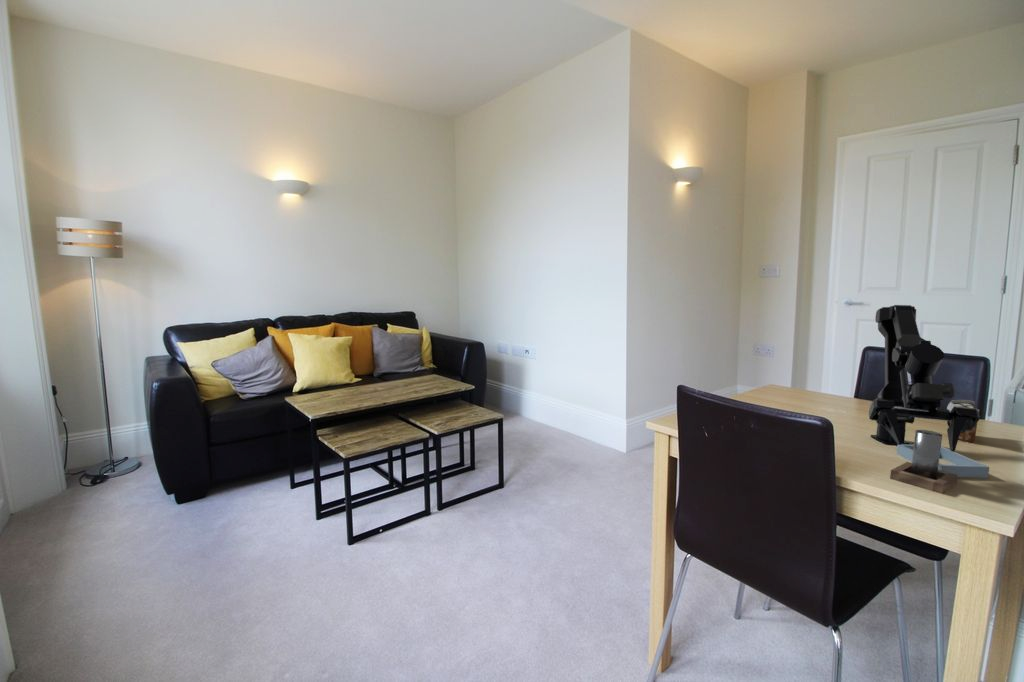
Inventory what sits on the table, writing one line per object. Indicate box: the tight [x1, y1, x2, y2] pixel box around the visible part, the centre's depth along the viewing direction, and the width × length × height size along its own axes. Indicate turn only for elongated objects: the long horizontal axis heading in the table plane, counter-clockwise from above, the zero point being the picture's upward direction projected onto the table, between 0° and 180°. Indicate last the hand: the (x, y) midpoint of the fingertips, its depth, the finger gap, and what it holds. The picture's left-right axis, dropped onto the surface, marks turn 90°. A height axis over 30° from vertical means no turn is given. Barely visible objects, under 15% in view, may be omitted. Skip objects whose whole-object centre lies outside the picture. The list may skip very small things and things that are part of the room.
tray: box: [896, 444, 990, 479], centre depth 116 cm, size 14×10×4 cm
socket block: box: [889, 461, 959, 495], centre depth 107 cm, size 9×9×3 cm
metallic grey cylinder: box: [911, 429, 943, 480], centre depth 106 cm, size 4×4×11 cm
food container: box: [946, 399, 980, 444], centre depth 138 cm, size 12×6×10 cm, turn 141°
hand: (926, 447), depth 106 cm, fingers open, 9 cm apart
